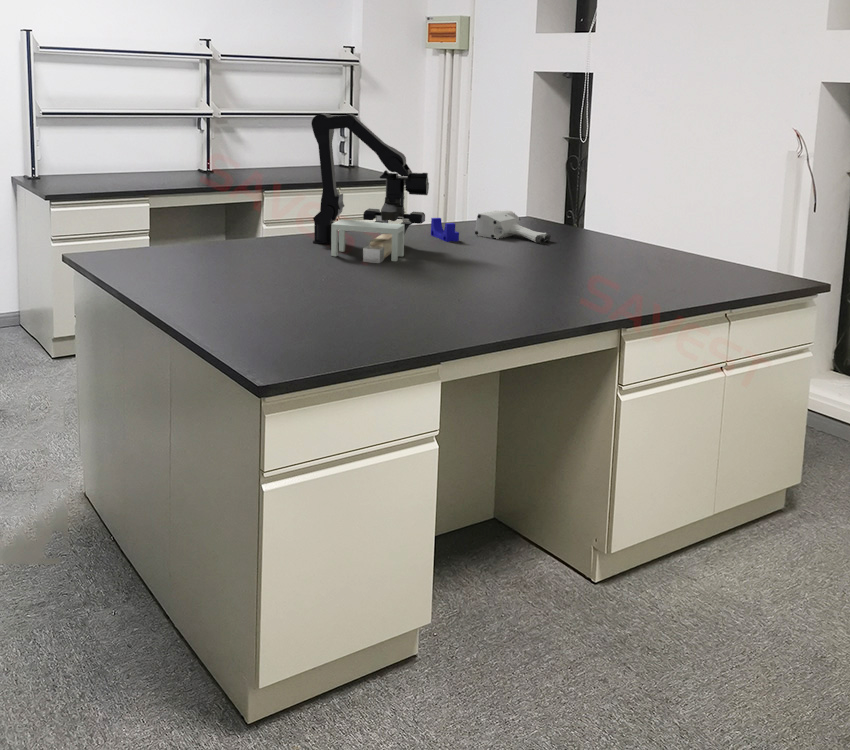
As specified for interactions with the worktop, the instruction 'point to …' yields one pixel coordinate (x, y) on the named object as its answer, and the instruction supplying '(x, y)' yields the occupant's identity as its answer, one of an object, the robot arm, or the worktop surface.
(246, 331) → the worktop surface
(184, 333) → the worktop surface
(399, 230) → the small white table
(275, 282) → the worktop surface
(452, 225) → the cable clip
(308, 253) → the worktop surface
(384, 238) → the batten
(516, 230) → the impact wrench
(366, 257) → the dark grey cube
